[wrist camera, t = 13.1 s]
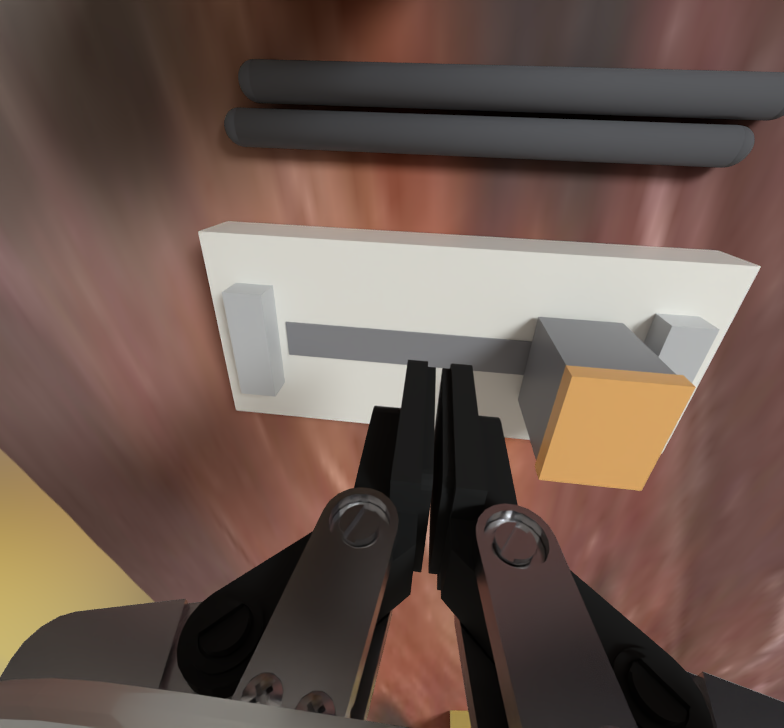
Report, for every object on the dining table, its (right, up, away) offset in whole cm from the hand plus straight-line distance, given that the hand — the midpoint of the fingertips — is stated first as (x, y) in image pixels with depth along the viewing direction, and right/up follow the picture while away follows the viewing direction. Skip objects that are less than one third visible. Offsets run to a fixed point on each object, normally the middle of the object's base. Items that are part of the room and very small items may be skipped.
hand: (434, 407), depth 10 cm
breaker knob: (+8, +1, +9) cm, 12 cm away
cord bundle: (+3, +13, +7) cm, 15 cm away
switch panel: (+2, +3, +13) cm, 13 cm away
